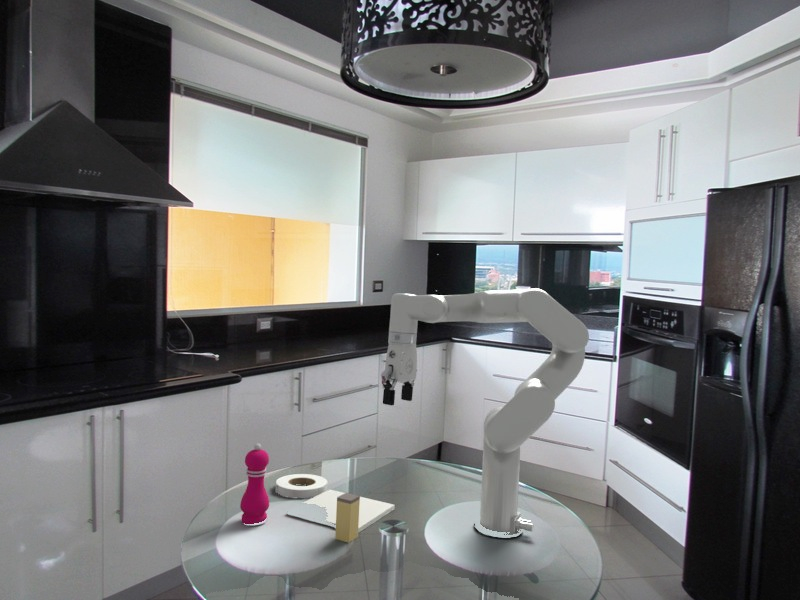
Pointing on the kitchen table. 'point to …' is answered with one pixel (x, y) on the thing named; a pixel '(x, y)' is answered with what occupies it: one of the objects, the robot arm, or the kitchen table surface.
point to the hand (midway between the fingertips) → (397, 402)
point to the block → (347, 517)
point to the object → (289, 488)
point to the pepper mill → (255, 487)
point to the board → (367, 508)
